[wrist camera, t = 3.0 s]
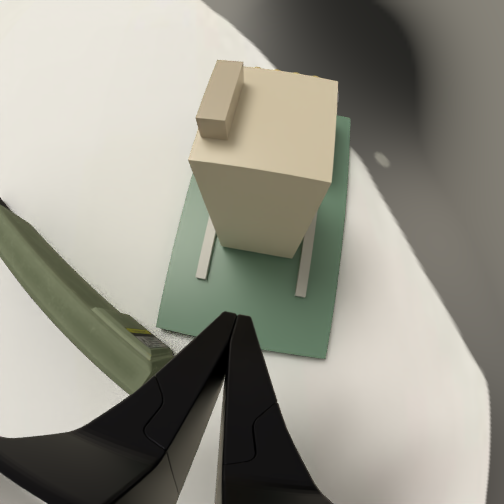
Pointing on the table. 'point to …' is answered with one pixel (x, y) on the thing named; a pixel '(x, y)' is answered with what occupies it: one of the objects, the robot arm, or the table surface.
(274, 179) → the plug
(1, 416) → the table surface
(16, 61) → the table surface
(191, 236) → the board
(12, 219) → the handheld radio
